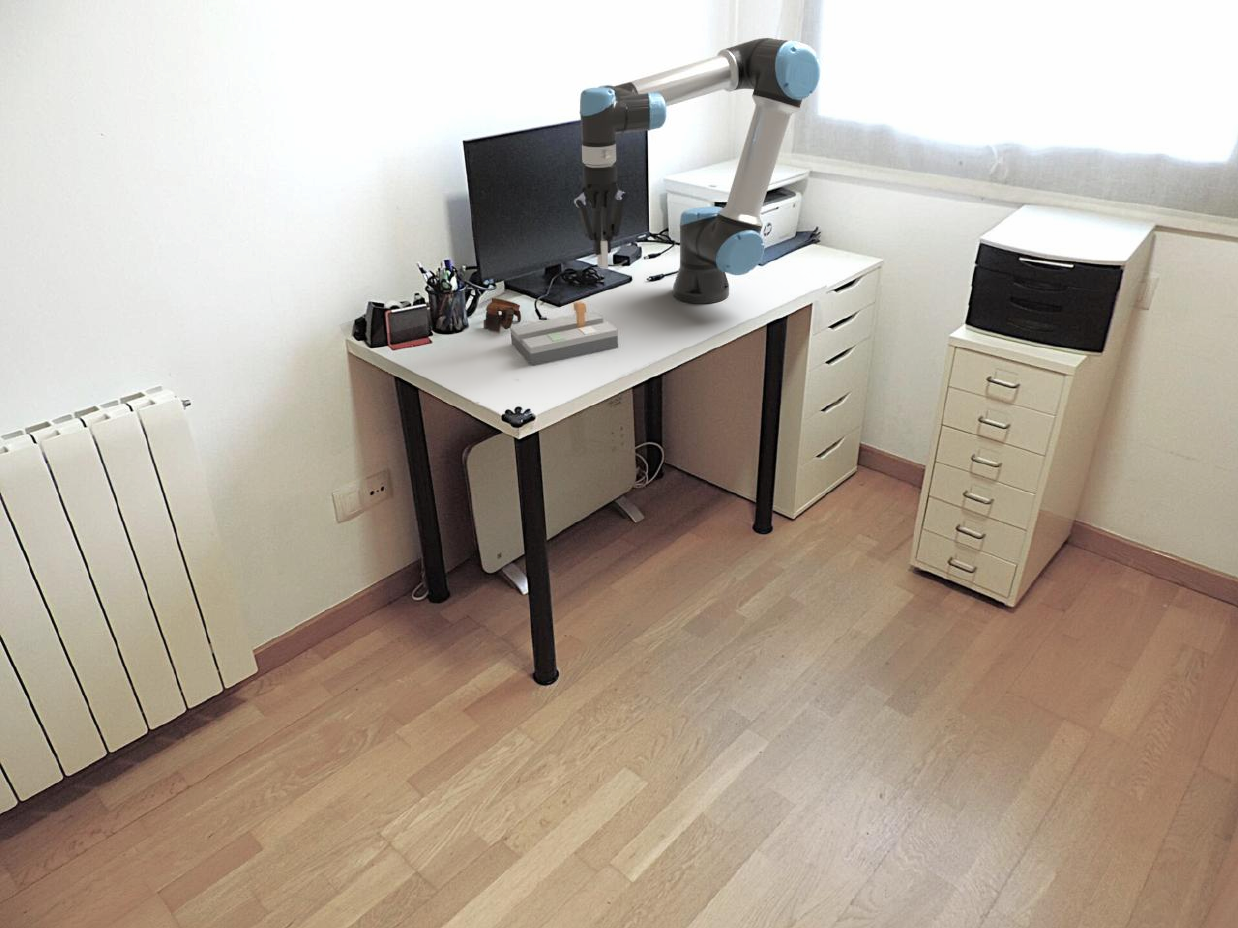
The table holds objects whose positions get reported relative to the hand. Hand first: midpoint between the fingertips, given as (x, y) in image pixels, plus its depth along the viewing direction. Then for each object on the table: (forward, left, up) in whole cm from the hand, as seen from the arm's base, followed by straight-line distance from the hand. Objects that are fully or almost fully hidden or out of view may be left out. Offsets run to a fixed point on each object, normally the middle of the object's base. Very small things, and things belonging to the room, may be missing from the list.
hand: (602, 267), depth 210 cm
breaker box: (+11, 0, -18) cm, 21 cm away
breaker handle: (+6, 0, -14) cm, 16 cm away
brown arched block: (+20, -19, -18) cm, 33 cm away
